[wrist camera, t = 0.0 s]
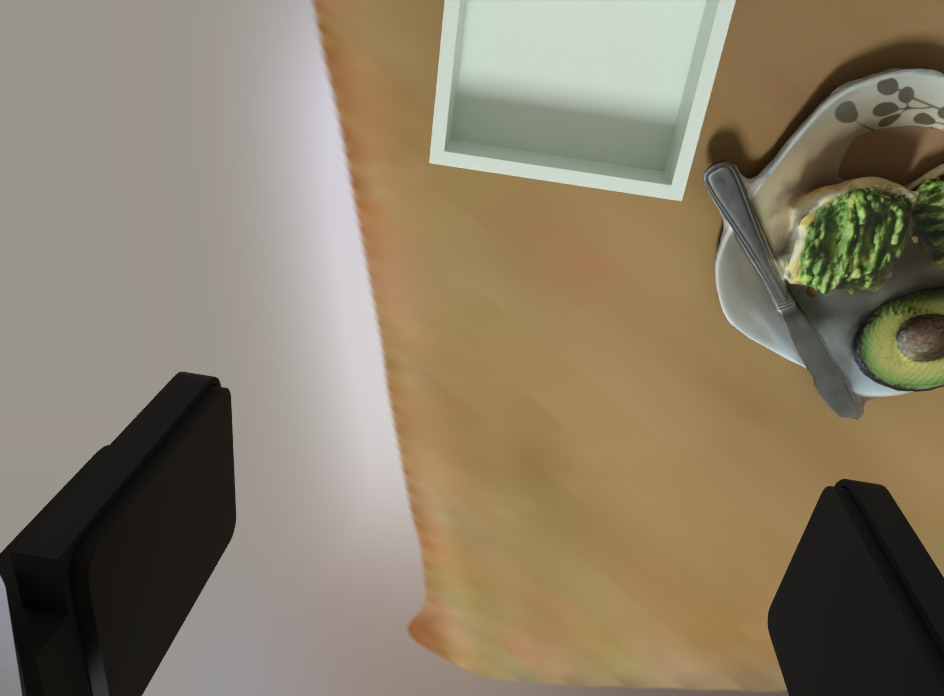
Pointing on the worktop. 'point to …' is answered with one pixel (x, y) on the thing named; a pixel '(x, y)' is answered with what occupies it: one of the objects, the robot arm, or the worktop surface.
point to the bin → (578, 89)
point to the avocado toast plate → (841, 249)
